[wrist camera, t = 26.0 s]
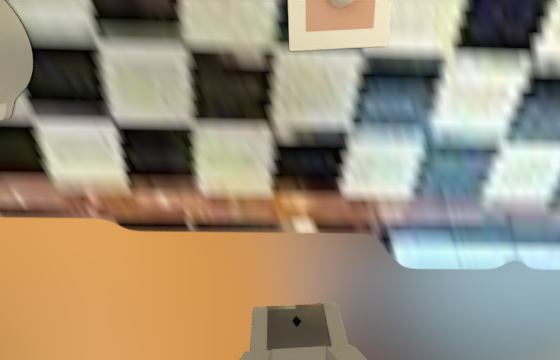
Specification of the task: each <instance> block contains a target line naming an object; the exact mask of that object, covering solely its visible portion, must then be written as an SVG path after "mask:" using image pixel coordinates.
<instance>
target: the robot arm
mask: <svg viewBox="0 0 560 360" xmlns="http://www.w3.org/2000/svg"><path fill="white" fill-rule="evenodd" d="M32 70H33V55H32V49H31V45H30V42H29V39H28V36H27V34H26V31H25V29H24V27H23V25H22V23H21V22H20V20H19V18H18V17H17V15H16V14H15V12H14V11H13V10H12V8H11V7H10V6H9V5H8V4H7V2H6V1H5V0H0V121H1V120H7V119H9V118H10V117H11V115H12V111H13V107H14V101H15V100H16V98H17V97H18V96H19V95H20V94H21V93H22V92H23V91H24V89H25V88H26V87H27V85H28V83H29V81H30V79H31V75H32ZM240 360H367V359H366V358H365V357H364V356H363V355H362V354H361V353H360V352H359V351H358V350H357V349H356V348H355V347H354V346H353V345H352V346H351V345H348V341H347V338H346V334H345V330H344V326H343V322H342V319H341V315H340V311H339V307H338V304H337V303H323V304H322V303H318V304H304V305H295V306H268V307H254V309H253V315H252V327H251V340H250V351H247V352H245V353H244V354H243V356H242V357H241V359H240Z"/></svg>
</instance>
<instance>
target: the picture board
mask: <svg viewBox="0 0 560 360" xmlns="http://www.w3.org/2000/svg"><path fill="white" fill-rule="evenodd" d="M392 1H393V0H355V1H353V2H352V3H351V4H349V5H348V6H346V7H344V8H335V7H333V6H331V5H330V4H329V3H328V1H327V0H288V27H289V51H303V50H322V49H341V48H360V47H378V46H388V40H389V30H390V20H391V10H392Z"/></svg>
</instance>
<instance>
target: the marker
mask: <svg viewBox="0 0 560 360" xmlns="http://www.w3.org/2000/svg"><path fill="white" fill-rule="evenodd" d="M327 1H328V3H329V4H330V5H331V6H333V7H335V8H344V7H346V6H348V5H349V4H351V3H352V2H353V1H355V0H327Z"/></svg>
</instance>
